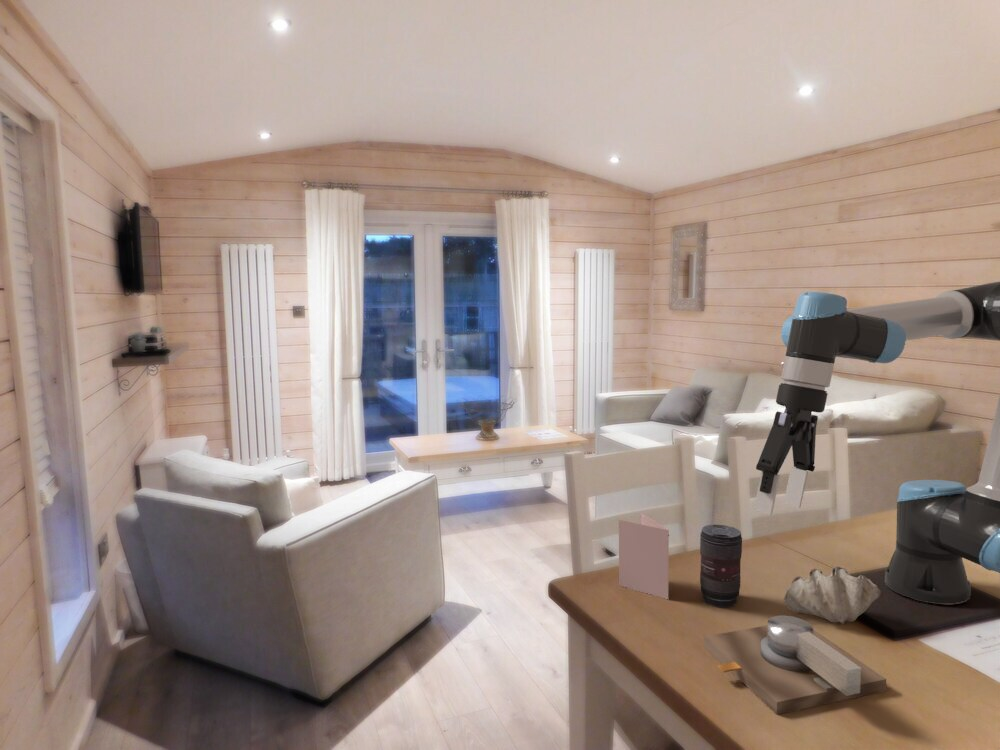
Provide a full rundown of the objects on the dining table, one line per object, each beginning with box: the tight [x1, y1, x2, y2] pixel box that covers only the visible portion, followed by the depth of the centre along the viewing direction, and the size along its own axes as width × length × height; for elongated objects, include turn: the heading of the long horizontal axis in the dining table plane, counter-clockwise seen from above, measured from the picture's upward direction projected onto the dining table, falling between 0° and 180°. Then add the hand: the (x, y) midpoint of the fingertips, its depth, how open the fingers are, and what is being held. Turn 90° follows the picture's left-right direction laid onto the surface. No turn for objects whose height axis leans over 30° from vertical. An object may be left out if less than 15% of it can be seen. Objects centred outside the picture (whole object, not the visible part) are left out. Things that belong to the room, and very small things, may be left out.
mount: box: [703, 624, 887, 715], centre depth 111 cm, size 23×20×4 cm
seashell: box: [783, 566, 881, 625], centre depth 128 cm, size 10×15×10 cm
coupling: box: [767, 615, 861, 696], centre depth 106 cm, size 18×7×4 cm, turn 15°
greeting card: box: [618, 512, 670, 600], centre depth 141 cm, size 11×7×15 cm, turn 17°
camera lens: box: [699, 524, 743, 608], centre depth 136 cm, size 8×8×15 cm
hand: (778, 508), depth 112 cm, fingers open, 13 cm apart
